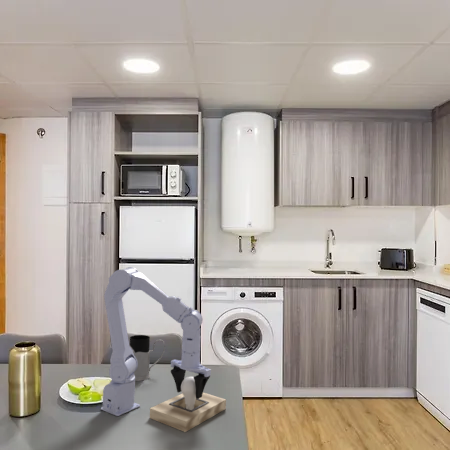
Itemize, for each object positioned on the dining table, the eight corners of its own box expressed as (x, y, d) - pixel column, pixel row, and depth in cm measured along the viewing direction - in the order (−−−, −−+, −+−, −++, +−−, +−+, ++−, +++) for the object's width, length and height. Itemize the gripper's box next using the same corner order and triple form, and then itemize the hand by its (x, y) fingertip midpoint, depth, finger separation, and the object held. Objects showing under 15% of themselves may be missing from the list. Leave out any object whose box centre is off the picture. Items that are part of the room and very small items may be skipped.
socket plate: (185, 432, 121) (185, 420, 121) (149, 418, 129) (150, 407, 129) (225, 408, 137) (226, 398, 137) (191, 397, 145) (192, 388, 145)
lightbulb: (200, 416, 131) (201, 380, 131) (180, 416, 130) (181, 380, 131) (199, 408, 137) (200, 373, 137) (179, 408, 137) (181, 373, 137)
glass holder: (125, 373, 167) (127, 335, 167) (162, 371, 171) (163, 333, 171) (127, 381, 158) (129, 340, 159) (165, 378, 163) (167, 339, 163)
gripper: (217, 352, 132) (215, 396, 132) (181, 343, 141) (180, 385, 141) (203, 357, 127) (201, 403, 126) (167, 348, 135) (165, 391, 135)
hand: (189, 394), depth 133 cm, fingers open, 7 cm apart
